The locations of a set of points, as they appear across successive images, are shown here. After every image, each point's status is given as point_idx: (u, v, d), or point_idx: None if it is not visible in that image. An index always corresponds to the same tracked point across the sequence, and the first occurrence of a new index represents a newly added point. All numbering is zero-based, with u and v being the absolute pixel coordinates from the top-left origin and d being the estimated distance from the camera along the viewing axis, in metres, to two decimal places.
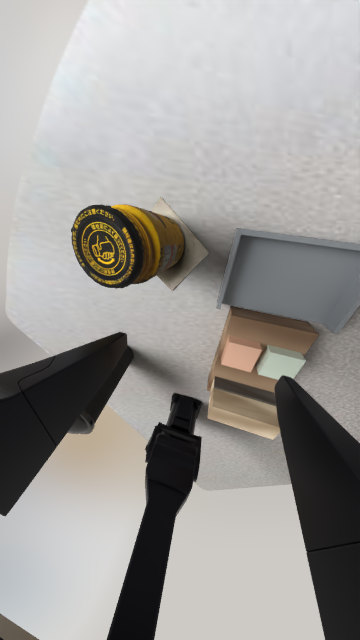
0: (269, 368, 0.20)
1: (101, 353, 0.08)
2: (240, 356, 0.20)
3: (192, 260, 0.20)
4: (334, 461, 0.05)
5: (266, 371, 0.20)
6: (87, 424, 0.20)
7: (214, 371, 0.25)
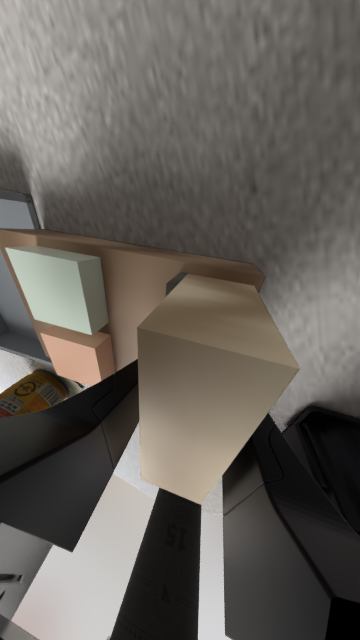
0: (65, 316, 0.09)
1: None
2: (71, 362, 0.11)
3: (50, 367, 0.20)
4: None
5: (76, 321, 0.09)
6: None
7: None
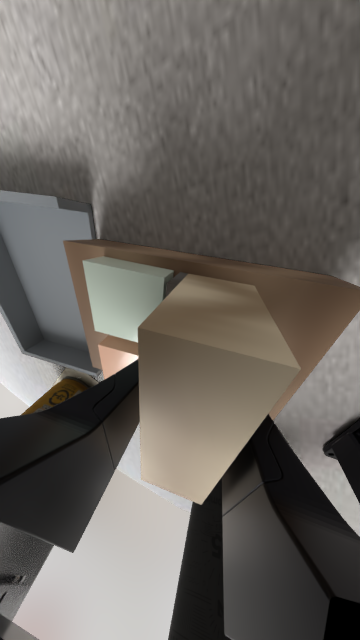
0: (133, 329, 0.08)
1: None
2: None
3: (81, 374, 0.20)
4: None
5: None
6: None
7: None
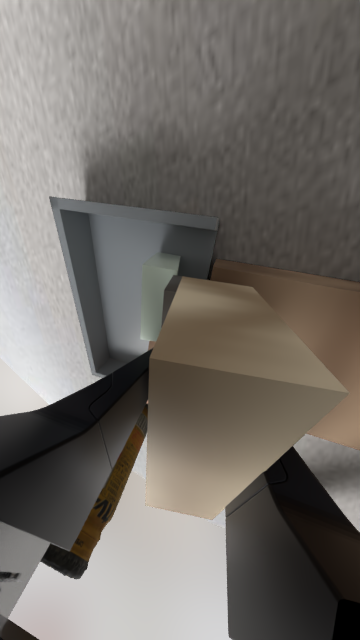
0: None
1: None
2: None
3: None
4: None
5: None
6: None
7: (328, 438, 0.11)
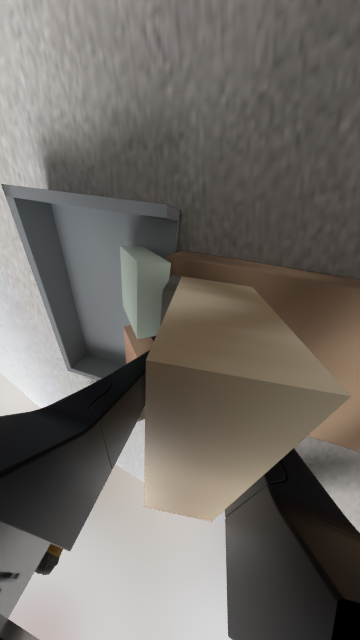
0: (130, 312, 0.09)
1: None
2: (130, 360, 0.12)
3: None
4: None
5: (133, 319, 0.09)
6: None
7: None
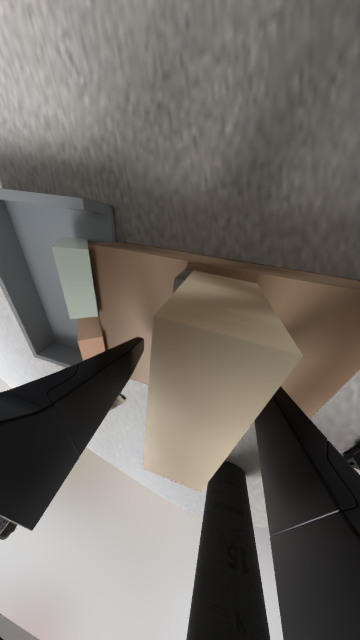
0: None
1: (122, 360, 0.07)
2: None
3: None
4: (294, 448, 0.05)
5: None
6: None
7: None
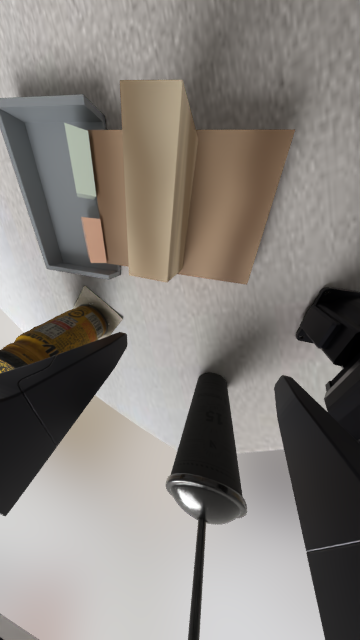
0: None
1: (100, 354, 0.08)
2: (85, 239, 0.17)
3: (94, 299, 0.24)
4: (334, 461, 0.05)
5: None
6: (205, 488, 0.13)
7: (197, 274, 0.15)
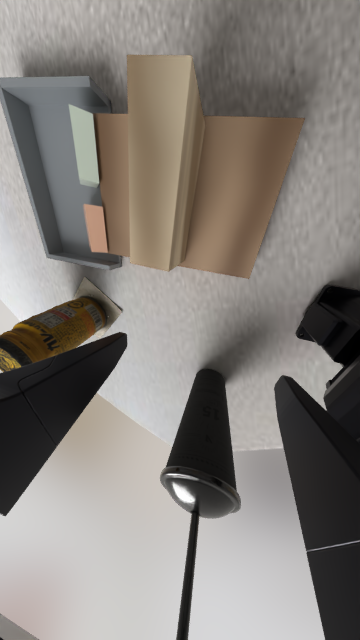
0: None
1: (101, 353, 0.08)
2: (87, 228, 0.17)
3: (94, 291, 0.24)
4: (334, 461, 0.05)
5: None
6: (199, 481, 0.13)
7: (199, 267, 0.15)
